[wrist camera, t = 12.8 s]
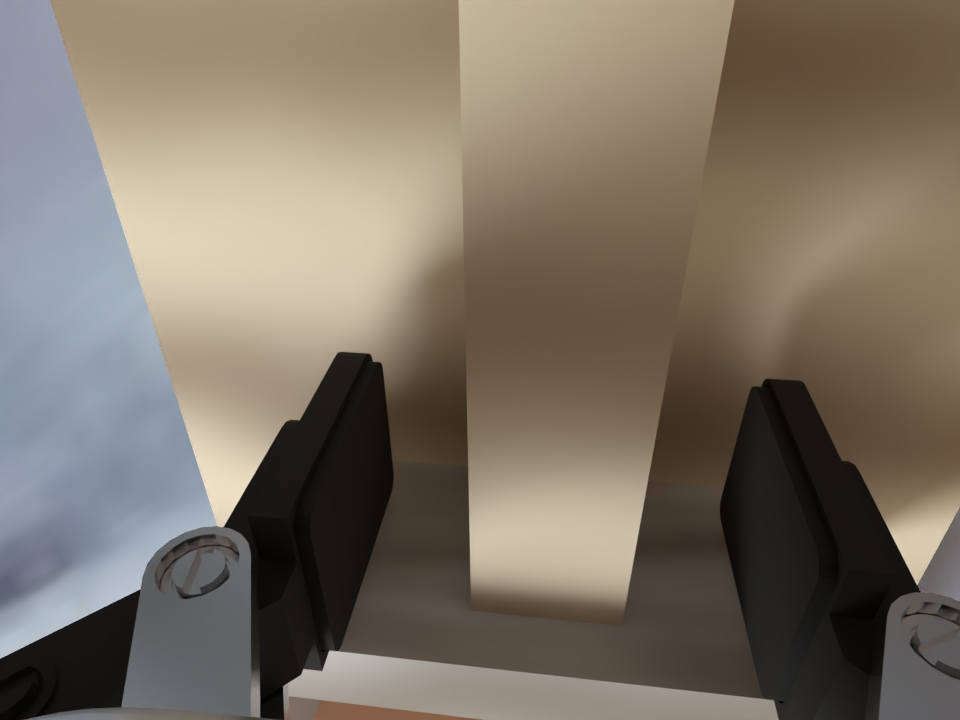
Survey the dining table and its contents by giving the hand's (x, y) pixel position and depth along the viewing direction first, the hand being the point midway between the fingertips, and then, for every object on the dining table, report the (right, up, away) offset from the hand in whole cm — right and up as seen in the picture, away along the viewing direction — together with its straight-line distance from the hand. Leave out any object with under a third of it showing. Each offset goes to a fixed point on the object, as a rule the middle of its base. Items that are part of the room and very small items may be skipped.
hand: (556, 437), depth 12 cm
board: (+1, +2, +4) cm, 4 cm away
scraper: (0, +4, -1) cm, 4 cm away
